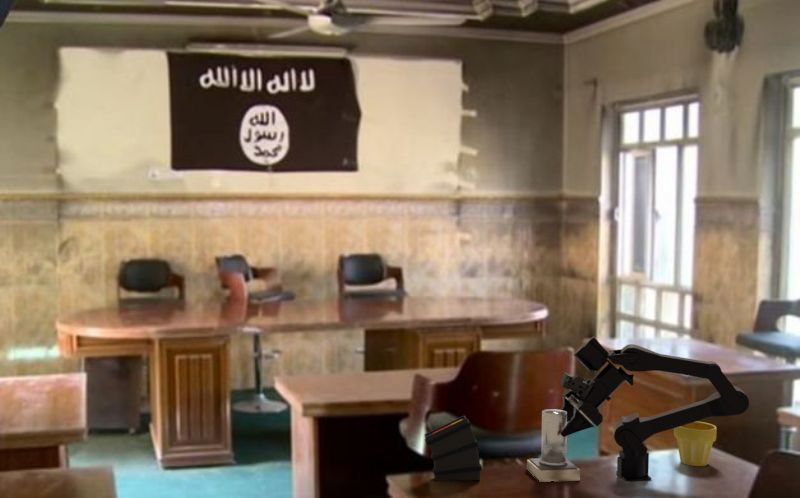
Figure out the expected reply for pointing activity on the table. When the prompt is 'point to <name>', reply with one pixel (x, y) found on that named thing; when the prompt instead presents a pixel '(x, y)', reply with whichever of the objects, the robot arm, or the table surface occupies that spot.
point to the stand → (553, 471)
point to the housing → (553, 438)
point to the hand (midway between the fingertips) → (557, 430)
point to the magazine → (454, 451)
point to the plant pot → (695, 442)
